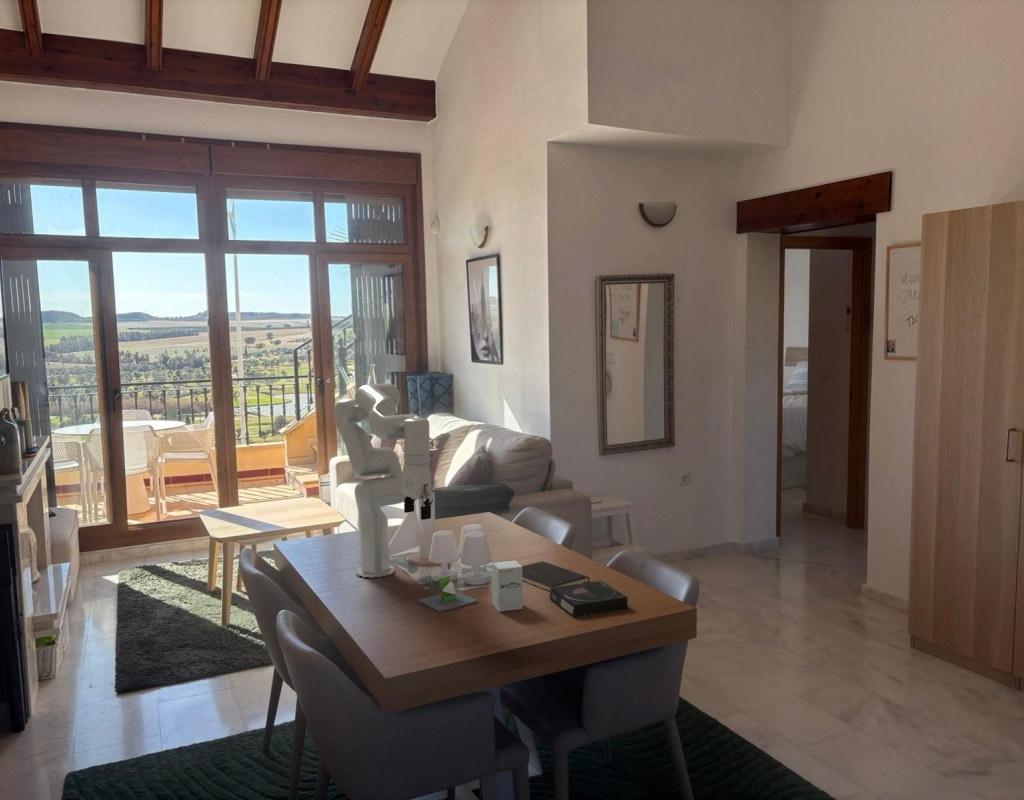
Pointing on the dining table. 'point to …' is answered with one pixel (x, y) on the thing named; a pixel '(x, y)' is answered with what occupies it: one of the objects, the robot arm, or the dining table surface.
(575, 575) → the hardcover book
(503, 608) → the supplement box
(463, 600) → the mat
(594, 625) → the dining table surface
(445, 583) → the geometric puzzle
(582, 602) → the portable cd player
